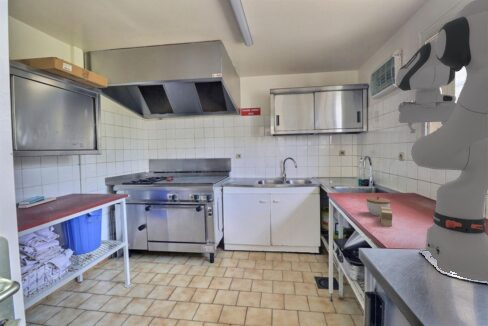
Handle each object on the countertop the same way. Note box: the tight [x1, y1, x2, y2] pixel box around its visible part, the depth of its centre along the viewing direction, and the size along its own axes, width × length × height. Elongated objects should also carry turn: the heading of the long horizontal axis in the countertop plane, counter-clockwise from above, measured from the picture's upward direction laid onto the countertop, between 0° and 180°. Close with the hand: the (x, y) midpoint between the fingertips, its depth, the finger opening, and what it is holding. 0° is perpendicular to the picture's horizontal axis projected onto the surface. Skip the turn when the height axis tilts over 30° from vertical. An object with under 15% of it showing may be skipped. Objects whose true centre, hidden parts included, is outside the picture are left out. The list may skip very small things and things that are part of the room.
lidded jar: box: [366, 196, 391, 217], centre depth 127 cm, size 11×11×9 cm
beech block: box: [380, 206, 393, 227], centre depth 114 cm, size 12×4×6 cm, turn 152°
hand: (426, 133), depth 104 cm, fingers open, 8 cm apart
